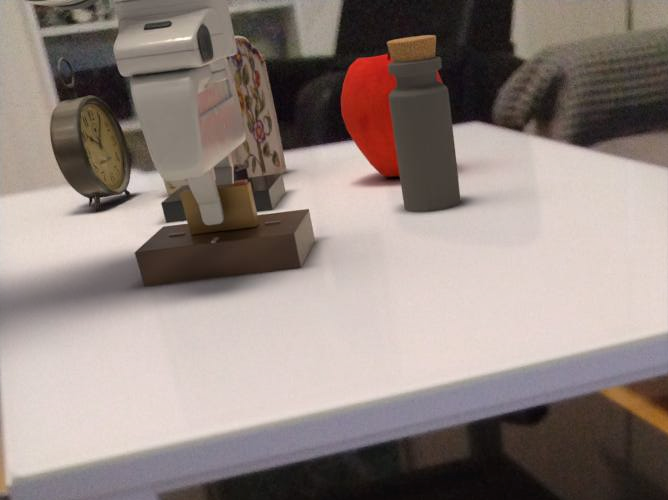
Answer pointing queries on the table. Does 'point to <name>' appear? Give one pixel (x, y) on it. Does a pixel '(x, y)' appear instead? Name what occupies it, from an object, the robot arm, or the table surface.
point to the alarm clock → (89, 145)
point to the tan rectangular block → (235, 206)
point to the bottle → (422, 126)
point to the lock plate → (226, 250)
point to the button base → (263, 187)
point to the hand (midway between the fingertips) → (221, 216)
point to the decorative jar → (252, 116)
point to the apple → (371, 111)
